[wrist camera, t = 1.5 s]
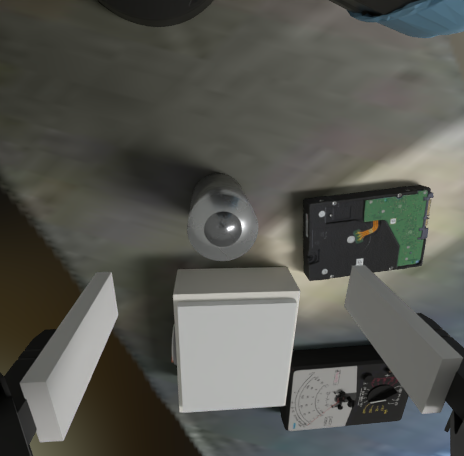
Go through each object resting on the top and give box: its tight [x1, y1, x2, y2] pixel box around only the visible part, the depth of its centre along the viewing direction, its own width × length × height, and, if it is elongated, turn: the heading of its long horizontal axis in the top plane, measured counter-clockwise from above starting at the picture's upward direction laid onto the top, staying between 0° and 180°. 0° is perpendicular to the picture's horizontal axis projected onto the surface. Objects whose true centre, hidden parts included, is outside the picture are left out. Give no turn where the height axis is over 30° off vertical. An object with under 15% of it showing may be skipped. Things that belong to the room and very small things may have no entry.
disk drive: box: [303, 185, 433, 281], centre depth 35 cm, size 10×3×15 cm
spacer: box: [187, 173, 258, 261], centre depth 28 cm, size 6×6×10 cm
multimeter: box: [280, 345, 408, 431], centre depth 43 cm, size 13×19×5 cm
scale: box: [171, 267, 300, 413], centre depth 37 cm, size 18×15×6 cm
